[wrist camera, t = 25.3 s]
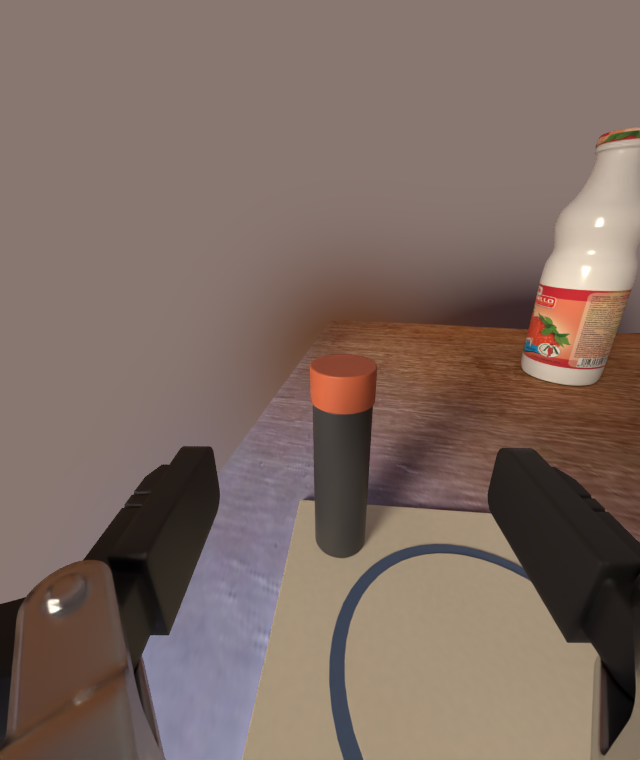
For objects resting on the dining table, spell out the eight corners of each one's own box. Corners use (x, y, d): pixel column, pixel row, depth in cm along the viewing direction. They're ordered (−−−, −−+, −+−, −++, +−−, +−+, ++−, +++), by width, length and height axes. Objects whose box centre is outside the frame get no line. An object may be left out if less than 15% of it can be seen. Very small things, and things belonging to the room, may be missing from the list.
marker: (310, 557, 21) (305, 375, 16) (317, 515, 24) (314, 352, 19) (366, 562, 20) (378, 378, 15) (366, 518, 23) (375, 354, 19)
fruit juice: (607, 392, 42) (709, 113, 31) (520, 380, 46) (583, 127, 34) (591, 367, 49) (667, 137, 38) (517, 358, 53) (567, 146, 42)
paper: (143, 1208, 7) (141, 1207, 7) (300, 501, 25) (300, 498, 25) (1442, 1599, 5) (1469, 1610, 5) (588, 522, 23) (590, 519, 23)
